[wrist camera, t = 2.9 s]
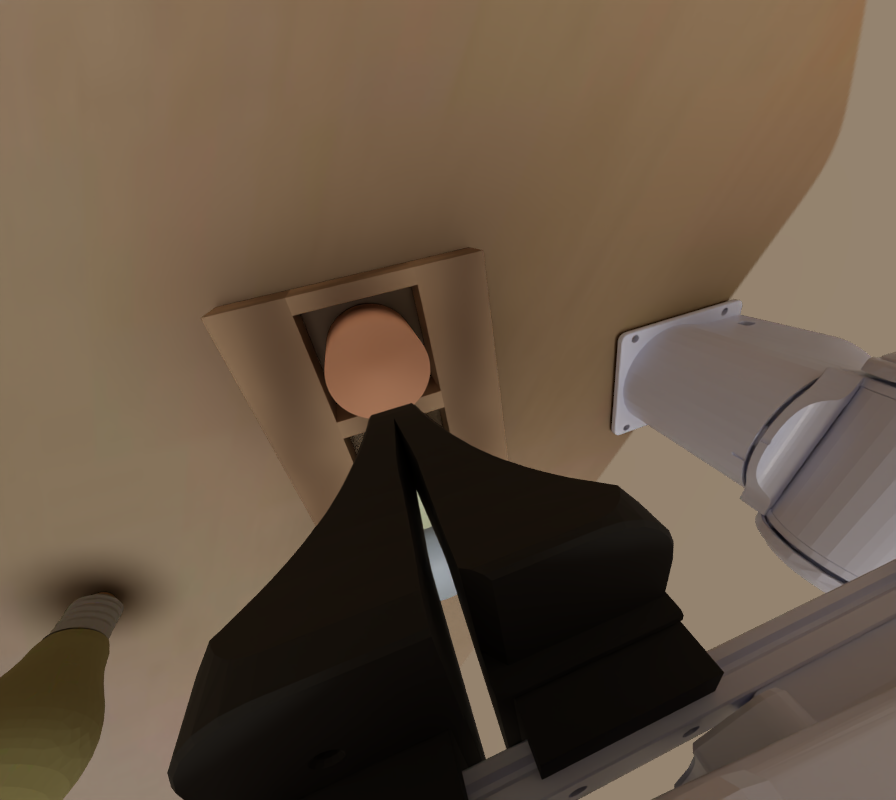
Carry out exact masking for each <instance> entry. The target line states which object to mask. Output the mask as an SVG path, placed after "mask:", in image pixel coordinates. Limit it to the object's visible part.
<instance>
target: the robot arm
mask: <svg viewBox="0 0 896 800" xmlns="http://www.w3.org/2000/svg"><path fill="white" fill-rule="evenodd" d="M741 309H742V301H740V300H736V299H735V300H730V301H727V302H724V303H720V304H717V305H714V306H710V307H707V308H704V309H700V310H697V311H694V312H691V313H687V314H684V315H681V316H677V317H674V318H671V319H667V320H664V321H661V322H657V323H654V324H651V325H647V326H644V327H641V328H638V329H634V330H631V331H628V332H625V333H623V334H622V335H621V336H620V337H619V339H618V348H617V362H616V375H615V389H614V403H613V416H612V432H613V433H614V434H615V435H621V434H623V433H626V432H629V431H632V430H635V429H637V428H640V427H643V426H646V425H649V426H650V427H652V428H653V429H655V430H656V431H658V432H660V433H661V434H663V435H664V436H666V437H668V438H669V439H670V440H672V441H673V442H675V443H676V444H678V445H680V446H681V447H683V448H684V449H686V450H687V451H689V452H690V453H692V454H693V455H695V456H696V457H698V458H699V459H701V460H703V461H704V462H706V463H707V464H709V465H710V466H712V467H713V468H715V469H717V470H718V471H720V472H722V473H723V474H724V475H726V476H727V477H729V478H730V479H732V480H733V481H735V482H736V483H738V484H739V485H741V486H743V487H744V488H745V489H744V491H743V493H742V495H741V496H740V499H741V500H742V501H743V502H745V503H746V504H748V505H749V506H751V507H752V508H754V509H755V510H757V511H758V514H757V515H756V518H755V523H756V526H757V528H758V530H759V532H760V534H761V535H762V537H763V538H764V539H765V541H766V542H767V544H768V546H769V547H770V548H771V550H772V551H773V552H774V553H775V554H776V555H777V556H778V557H779V558H780V559H781V560H782V561H783V562H784V563H785V564H786V565H787V566H788V567H790V568H791V569H792V570H793V571H794V572H796V573H797V574H798V575H800V576H801V577H802V578H804V579H805V580H806V581H808V582H809V583H811V584H812V585H814V586H815V587H817V588H818V589H820V590H822V591H823V592H825V594H823V595H821V596H819V597H817V598H815V599H813V600H811V601H809V602H806V603H805V604H802V605H800V606H798V607H796V608H794V609H792V610H790V611H788V612H786V613H784V614H782V615H780V616H778V617H776V618H774V619H772V620H770V621H768V622H766V623H764V624H762V625H760V626H757V627H755V628H754V629H751V630H749V631H747V632H745V633H743V634H741V635H739V636H737V637H735V638H733V639H731V640H729V641H727V642H725V643H723V644H721V645H719V646H717V647H715V648H713V649H711V650H708V651H705V649H704V648H703V647H702V646H701V645H700V644H699V642H698V641H697V640H696V639H695V638H694V637H693V636H692V634H691V633H690V632H689V631H688V630H687V629H686V627H685V626H684V625H683V624H682V623H681V622H680V621H681V620H683V616H684V615H683V613H682V611H681V609H680V608H679V607H678V606H677V605H676V603H675V602H674V601H673V600H672V599H671V598H670V597H669V595H668V594H667V593H666V592H665V590H666V586H667V581H668V577H669V573H670V568H671V564H672V560H673V539H672V537H671V534H670V532H669V530H668V529H666V527H665V526H664V525H662V524H661V523H660V522H659V521H658V520H657V519H656V518H655V517H654V516H653V515H652V514H651V513H649V511H648V510H647V509H645V508H644V507H643V506H642V505H641V504H640V503H639V502H638V501H636V500H635V499H634V498H633V497H631V496H630V495H629V494H627V493H626V492H625V491H624V490H622V489H621V488H620V487H619V486H617V485H611V484H605V483H599V482H593V481H587V480H580V479H574V478H568V477H564V476H559V475H555V474H551V473H547V472H542V471H539V470H535V469H531V468H528V467H524V466H521V465H518V464H515V463H512V462H509V461H507V460H504V459H501V458H498V457H496V456H493V455H491V454H489V453H486V452H484V451H482V450H480V449H478V448H476V447H474V446H472V445H470V444H468V443H466V442H465V441H463V440H461V439H460V438H458V437H456V436H455V435H453V434H452V433H450V432H448V431H447V430H446V429H444V428H443V427H441V426H440V425H438V424H437V423H436V422H434V421H433V420H432V419H431V418H429V417H428V416H427V415H426V414H424V413H423V412H422V411H421V410H420V409H419V408H418V407H417V406H416V405H414V404H412V403H410V404H406V405H403V406H400V407H396V408H393V409H390V410H387V411H383V412H380V413H377V414H373V415H371V416H370V418H369V420H368V424H367V428H366V431H365V434H364V437H363V440H362V443H361V446H360V448H359V451H358V453H357V456H356V458H355V461H354V463H353V465H352V467H351V469H350V471H349V473H348V475H347V477H346V479H345V481H344V483H343V485H342V487H341V489H340V491H339V492H338V494H337V496H336V498H335V499H334V501H333V502H332V504H331V506H330V507H329V509H328V510H327V512H326V513H325V515H324V516H323V518H322V519H321V520H320V522H319V523H318V524H317V526H316V527H315V528H314V530H313V531H312V532H311V534H310V535H309V536H308V538H307V539H306V540H305V542H304V543H303V544H302V545H301V547H300V548H299V549H298V550H297V551H296V553H295V554H294V555H293V556H292V557H291V558H290V560H289V561H288V562H287V563H286V564H285V565H284V566H283V568H282V569H281V570H280V571H279V572H278V573H277V574H276V575H275V576H274V577H273V579H272V580H271V581H270V582H269V583H268V584H267V585H266V586H265V587H264V588H263V589H262V590H261V591H260V592H259V593H258V594H257V595H256V596H255V597H254V598H253V599H252V600H251V601H250V602H249V603H248V604H247V605H246V606H245V607H244V608H243V609H242V610H241V611H240V612H239V613H238V614H237V615H236V616H235V617H234V618H233V619H232V620H231V621H230V622H229V623H228V624H227V625H226V626H225V627H224V628H223V629H222V630H221V631H220V632H218V633H217V634H216V635H215V636H214V637H213V638H212V639H211V640H210V641H209V644H208V646H207V649H206V652H205V654H204V657H203V660H202V662H201V665H200V668H199V670H198V673H197V676H196V679H195V682H194V686H193V689H192V692H191V696H190V699H189V702H188V706H187V709H186V712H185V716H184V719H183V722H182V726H181V729H180V732H179V736H178V739H177V742H176V746H175V749H174V752H173V756H172V759H171V762H170V766H169V769H168V772H167V773H168V777H169V781H170V784H171V787H172V789H173V790H174V791H175V793H176V794H177V795H179V796H180V797H181V798H182V799H184V800H578V799H580V798H582V797H584V796H586V795H588V794H589V793H591V792H593V791H595V790H597V789H599V788H601V787H603V786H604V785H606V784H608V783H610V782H612V781H614V780H616V779H618V778H619V777H621V776H623V775H625V774H627V773H629V772H631V771H632V770H634V769H636V768H638V767H640V766H642V765H644V764H646V763H648V762H649V761H651V760H653V759H655V758H657V757H659V756H661V755H663V754H664V753H666V752H668V751H670V750H672V749H674V748H676V747H677V746H679V745H681V744H683V743H685V742H687V741H689V740H691V739H693V738H694V737H696V736H698V735H700V734H702V733H704V732H706V731H708V730H709V729H711V728H712V729H711V730H710V731H708V732H707V733H706V734H704V735H703V736H702V737H700V738H699V739H698V740H696V741H695V742H694V743H693V754H694V757H693V760H692V762H691V764H690V766H689V768H688V769H687V771H685V773H684V774H683V775H682V776H681V777H680V779H679V780H678V781H677V782H676V783H675V786H674V787H675V788H674V789H673V790H670V791H668V792H666V793H664V794H662V795H660V796H658V797H656V798H654V799H652V800H896V352H893V353H890V354H886V355H883V356H882V357H871V356H870V355H868V353H866V352H865V351H864V350H863V349H861V348H860V347H858V346H856V345H855V344H853V343H851V342H849V341H846V340H844V339H841V338H838V337H834V336H830V335H826V334H822V333H817V332H813V331H809V330H804V329H800V328H796V327H791V326H787V325H782V324H779V323H774V322H770V321H766V320H761V319H757V318H753V317H748V316H744V315H740V313H741ZM633 337H634V338H633ZM632 338H633V340H632ZM416 490H417V491H416ZM417 493H418V495H419V497H420V500H421V502H422V504H423V507H424V509H425V511H426V514H427V516H428V518H429V521H430V523H431V525H432V528H433V530H434V532H435V535H436V537H437V539H438V542H439V544H440V546H441V549H442V551H443V554H444V556H445V559H446V562H447V564H448V567H449V570H450V573H451V576H452V580H453V583H454V586H455V589H456V592H457V595H458V598H459V601H460V604H461V608H462V611H463V614H464V617H465V620H466V623H467V626H468V629H469V632H470V636H471V639H472V642H473V645H474V648H475V651H476V654H477V658H478V661H479V664H480V667H481V670H482V673H483V676H484V679H485V682H486V686H487V689H488V692H489V695H490V698H491V701H492V705H493V707H494V710H495V714H496V717H497V720H498V723H499V726H500V730H501V733H502V736H503V739H504V742H505V745H506V748H507V749H506V750H504V751H502V752H500V753H498V754H496V755H494V756H492V757H490V758H488V759H486V758H485V755H484V751H483V748H482V744H481V741H480V737H479V734H478V730H477V727H476V723H475V720H474V717H473V714H472V710H471V706H470V703H469V699H468V696H467V693H466V689H465V685H464V682H463V679H462V675H461V671H460V668H459V664H458V661H457V657H456V654H455V651H454V647H453V644H452V640H451V637H450V633H449V629H448V626H447V622H446V619H445V615H444V612H443V608H442V605H441V601H440V598H439V594H438V591H437V587H436V584H435V580H434V577H433V573H432V569H431V565H430V560H429V556H428V550H427V545H426V540H425V534H424V529H423V523H422V518H421V512H420V507H419V502H418V496H417ZM713 727H714V728H713Z"/></svg>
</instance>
